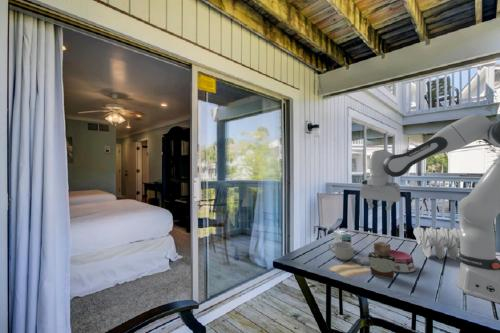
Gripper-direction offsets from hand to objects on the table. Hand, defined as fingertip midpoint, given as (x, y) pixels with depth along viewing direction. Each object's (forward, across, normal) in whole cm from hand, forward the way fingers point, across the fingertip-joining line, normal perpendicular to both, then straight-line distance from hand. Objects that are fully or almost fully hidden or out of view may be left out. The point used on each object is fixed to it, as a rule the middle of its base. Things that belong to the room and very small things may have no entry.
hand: (379, 208), depth 126 cm
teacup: (+31, +21, +4) cm, 38 cm away
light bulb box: (+31, +32, -9) cm, 46 cm away
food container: (+31, -5, +5) cm, 32 cm away
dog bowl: (+31, -1, -10) cm, 33 cm away
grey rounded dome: (+31, +10, -1) cm, 32 cm away
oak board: (+31, +7, +14) cm, 35 cm away
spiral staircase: (+31, -8, -45) cm, 55 cm away
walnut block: (+21, -5, +5) cm, 22 cm away
